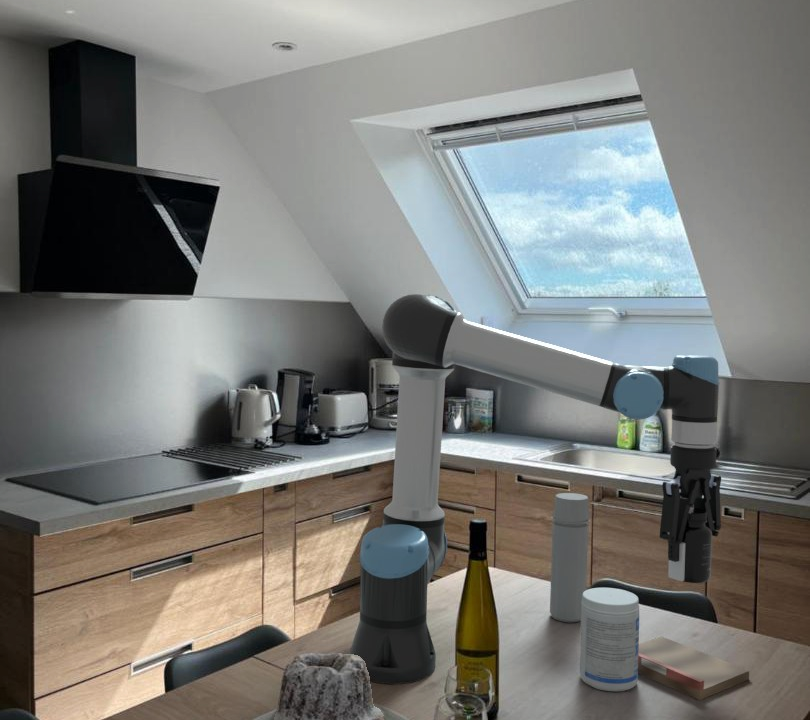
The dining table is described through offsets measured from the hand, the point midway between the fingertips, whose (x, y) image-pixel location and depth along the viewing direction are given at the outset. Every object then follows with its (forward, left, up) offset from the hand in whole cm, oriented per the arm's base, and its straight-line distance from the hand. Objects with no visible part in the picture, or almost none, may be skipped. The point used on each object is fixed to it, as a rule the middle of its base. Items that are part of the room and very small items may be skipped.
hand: (689, 574), depth 146 cm
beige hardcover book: (0, -2, -17) cm, 17 cm away
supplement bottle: (0, 0, -1) cm, 1 cm away
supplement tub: (-4, -16, -17) cm, 23 cm away
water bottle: (-29, +1, -17) cm, 34 cm away
